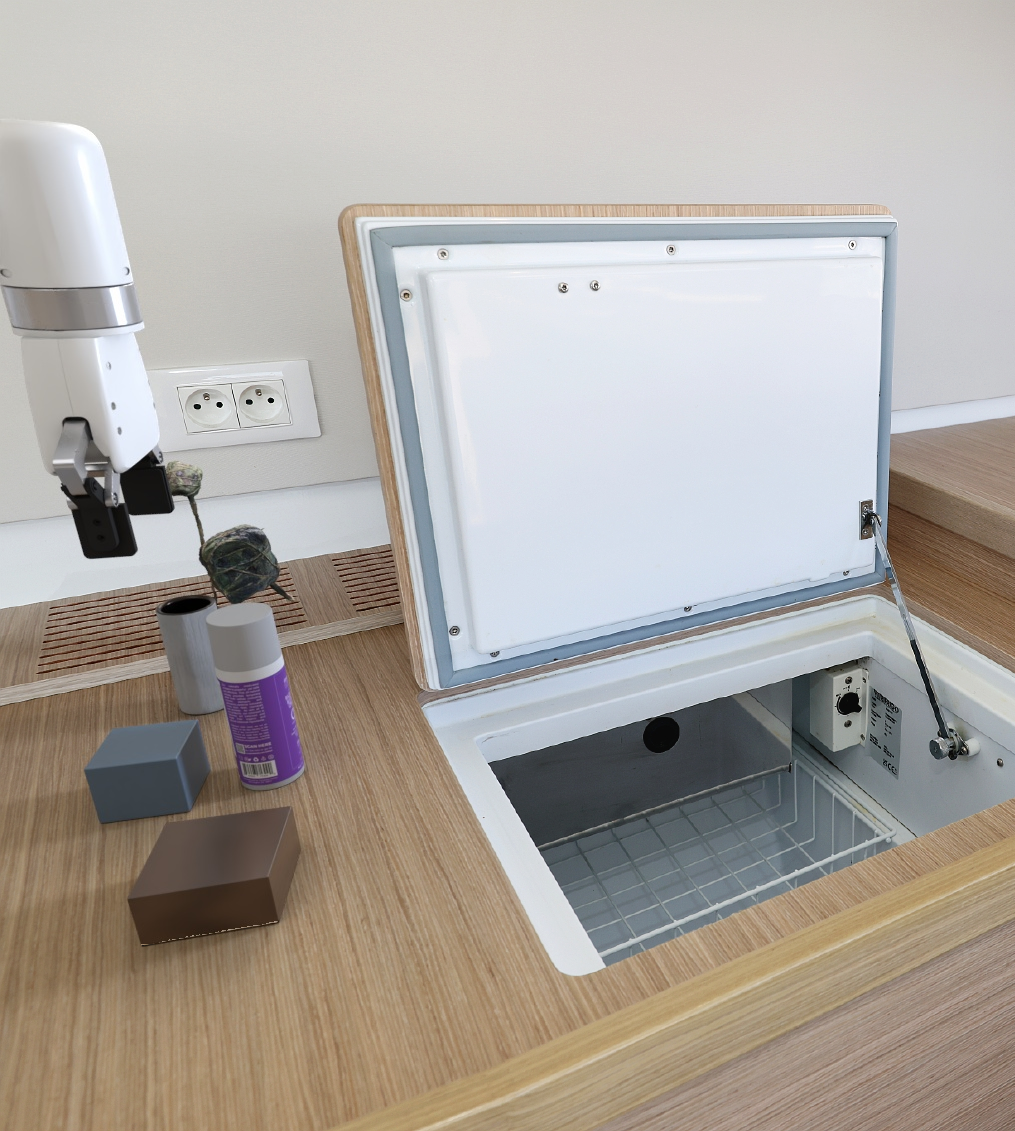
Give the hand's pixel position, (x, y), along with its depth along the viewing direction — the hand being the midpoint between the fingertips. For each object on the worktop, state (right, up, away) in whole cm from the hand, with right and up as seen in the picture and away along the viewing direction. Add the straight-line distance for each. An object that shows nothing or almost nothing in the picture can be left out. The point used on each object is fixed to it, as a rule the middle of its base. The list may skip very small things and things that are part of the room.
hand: (133, 533), depth 74 cm
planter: (-5, -16, +16) cm, 23 cm away
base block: (+12, -26, -7) cm, 29 cm away
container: (+7, -20, +6) cm, 22 cm away
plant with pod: (-11, -10, +29) cm, 33 cm away
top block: (0, -21, +2) cm, 21 cm away
